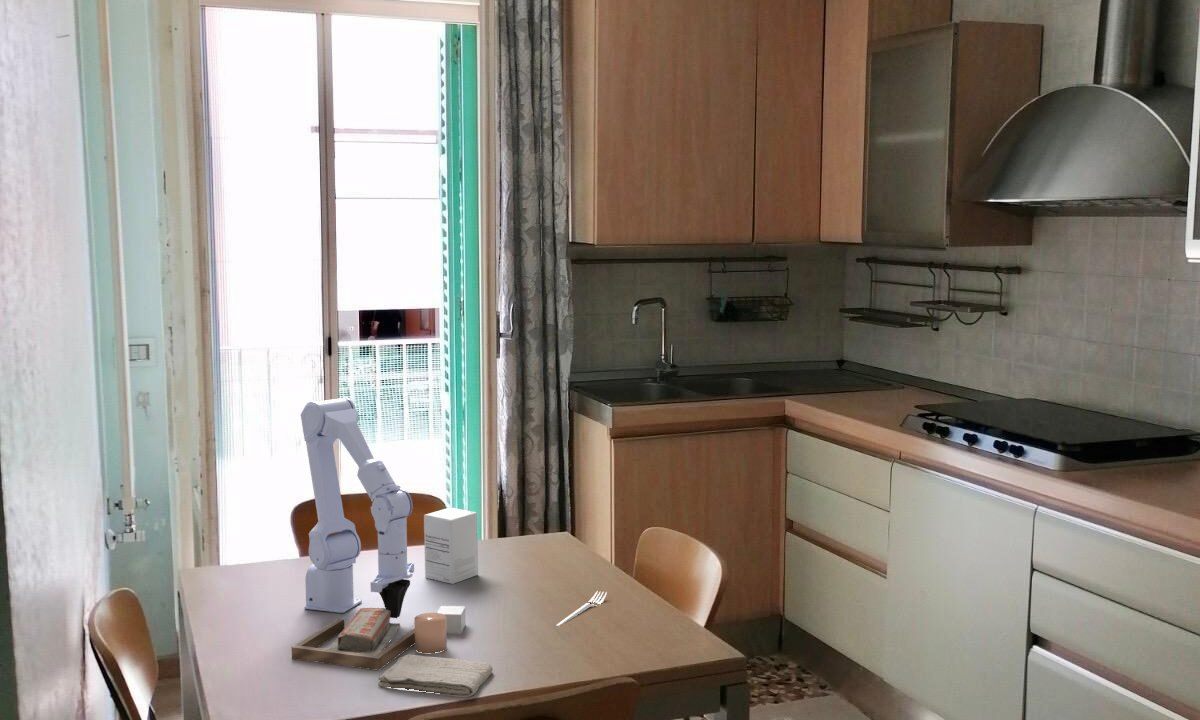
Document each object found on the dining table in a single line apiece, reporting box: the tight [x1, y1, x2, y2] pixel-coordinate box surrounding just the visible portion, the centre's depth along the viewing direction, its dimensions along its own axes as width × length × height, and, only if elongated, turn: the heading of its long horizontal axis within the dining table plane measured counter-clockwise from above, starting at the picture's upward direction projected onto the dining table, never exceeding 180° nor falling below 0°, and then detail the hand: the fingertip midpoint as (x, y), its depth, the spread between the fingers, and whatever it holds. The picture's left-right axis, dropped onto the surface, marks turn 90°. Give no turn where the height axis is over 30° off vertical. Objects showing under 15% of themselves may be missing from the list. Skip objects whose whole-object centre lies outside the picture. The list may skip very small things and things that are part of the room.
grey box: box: [436, 605, 466, 634], centre depth 224 cm, size 5×5×4 cm
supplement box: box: [423, 507, 479, 585], centre depth 259 cm, size 9×9×15 cm
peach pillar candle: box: [413, 612, 448, 653], centre depth 214 cm, size 6×6×6 cm
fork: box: [555, 590, 608, 627], centre depth 235 cm, size 3×20×2 cm, turn 153°
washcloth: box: [377, 654, 494, 698], centre depth 198 cm, size 12×18×3 cm, turn 78°
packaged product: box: [328, 607, 401, 655], centre depth 217 cm, size 18×5×10 cm
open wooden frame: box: [291, 618, 415, 671], centre depth 213 cm, size 18×17×2 cm
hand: (393, 616), depth 227 cm, fingers closed
